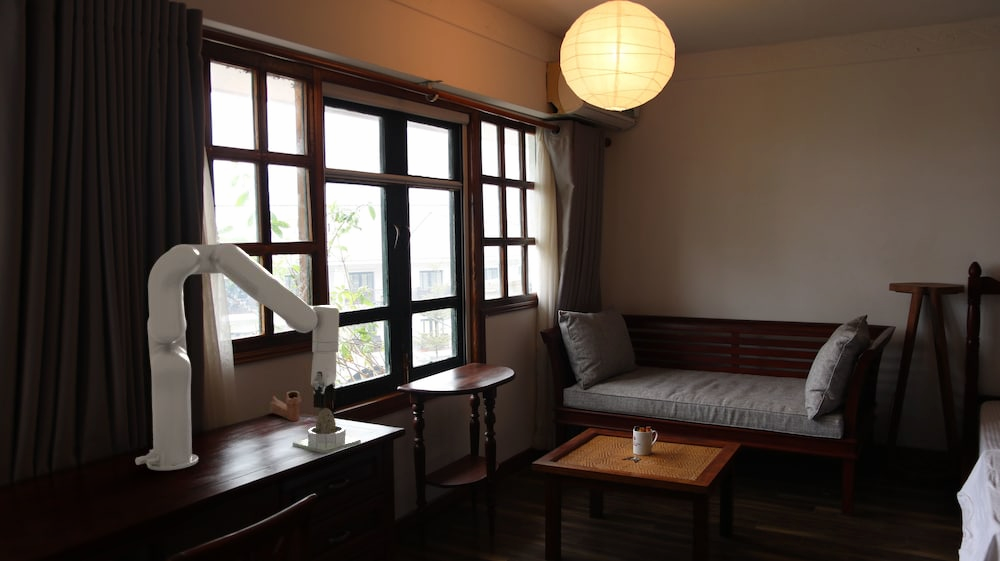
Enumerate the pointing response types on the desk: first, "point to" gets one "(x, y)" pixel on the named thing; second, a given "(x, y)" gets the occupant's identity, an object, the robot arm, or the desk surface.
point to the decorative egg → (325, 422)
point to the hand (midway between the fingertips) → (324, 403)
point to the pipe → (287, 406)
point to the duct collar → (326, 440)
